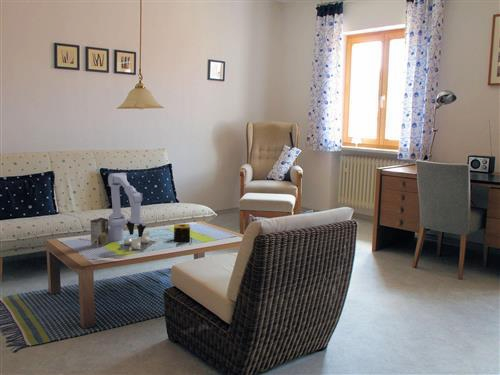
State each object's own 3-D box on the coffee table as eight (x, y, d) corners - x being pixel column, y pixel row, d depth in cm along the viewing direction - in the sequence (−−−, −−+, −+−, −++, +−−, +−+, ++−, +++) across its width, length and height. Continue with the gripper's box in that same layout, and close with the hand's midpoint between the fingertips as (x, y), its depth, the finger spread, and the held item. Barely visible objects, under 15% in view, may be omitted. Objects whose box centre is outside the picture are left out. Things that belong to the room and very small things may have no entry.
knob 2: (143, 243, 311) (143, 234, 310) (138, 242, 315) (138, 232, 314) (150, 242, 316) (150, 232, 315) (145, 240, 319) (145, 231, 318)
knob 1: (134, 249, 298) (134, 239, 297) (129, 248, 301) (129, 238, 300) (142, 248, 302) (142, 238, 301) (137, 246, 305) (137, 236, 304)
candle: (174, 242, 322) (174, 227, 320) (173, 238, 332) (173, 223, 330) (190, 242, 324) (190, 227, 322) (189, 238, 334) (189, 223, 332)
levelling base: (116, 251, 299) (116, 244, 298) (132, 241, 322) (132, 234, 321) (142, 254, 296) (142, 246, 295) (156, 243, 319) (156, 236, 319)
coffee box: (101, 242, 317) (100, 217, 315) (109, 244, 314) (108, 218, 312) (90, 245, 309) (90, 220, 307) (98, 247, 306) (98, 221, 304)
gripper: (149, 214, 297) (149, 236, 299) (132, 210, 305) (132, 232, 308) (140, 216, 292) (140, 238, 294) (123, 212, 300) (123, 234, 302)
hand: (135, 235), depth 300 cm, fingers open, 7 cm apart
